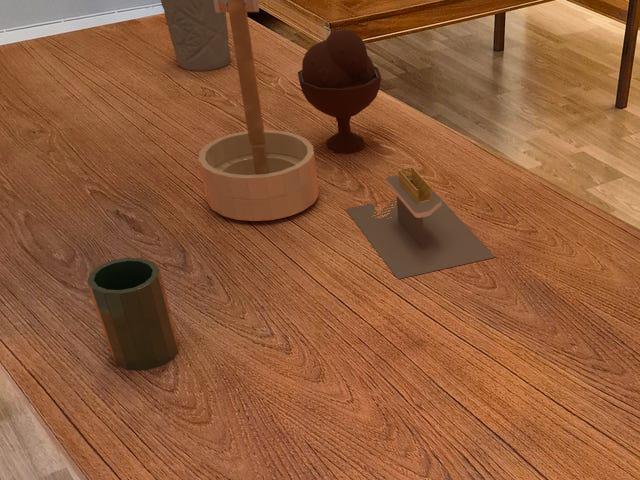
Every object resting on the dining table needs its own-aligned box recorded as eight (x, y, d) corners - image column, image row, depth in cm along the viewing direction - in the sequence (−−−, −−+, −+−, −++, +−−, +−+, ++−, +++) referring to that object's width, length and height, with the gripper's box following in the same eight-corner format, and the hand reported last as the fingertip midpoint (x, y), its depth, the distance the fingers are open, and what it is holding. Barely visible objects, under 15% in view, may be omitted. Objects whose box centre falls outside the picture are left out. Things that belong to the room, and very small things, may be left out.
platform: (434, 191, 113) (433, 140, 109) (495, 257, 102) (496, 203, 97) (344, 208, 110) (339, 157, 105) (397, 279, 98) (394, 224, 93)
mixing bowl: (205, 229, 105) (195, 181, 101) (211, 178, 115) (201, 132, 111) (321, 221, 107) (315, 173, 103) (317, 172, 117) (311, 127, 113)
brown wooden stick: (256, 186, 110) (221, -31, 94) (256, 175, 112) (222, -39, 96) (270, 185, 110) (238, -31, 94) (270, 174, 113) (239, -39, 96)
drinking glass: (171, 74, 142) (153, -9, 134) (174, 52, 149) (157, -28, 141) (236, 70, 143) (222, -12, 135) (236, 49, 151) (223, -30, 142)
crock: (110, 378, 84) (82, 296, 78) (118, 340, 89) (92, 259, 83) (177, 372, 85) (155, 290, 79) (182, 335, 90) (161, 254, 83)
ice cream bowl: (378, 126, 128) (371, 13, 118) (389, 159, 120) (382, 41, 110) (304, 131, 126) (290, 17, 116) (310, 165, 119) (295, 46, 108)
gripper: (318, -147, 92) (331, 0, 102) (113, -146, 89) (145, 4, 99) (320, -135, 87) (333, 17, 97) (104, -134, 85) (139, 22, 94)
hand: (237, 11), depth 98 cm, fingers closed on brown wooden stick, 2 cm apart
